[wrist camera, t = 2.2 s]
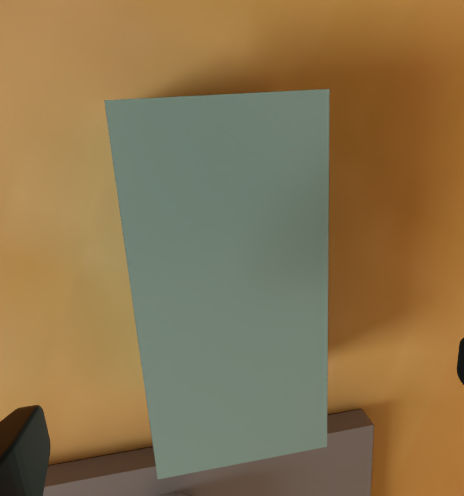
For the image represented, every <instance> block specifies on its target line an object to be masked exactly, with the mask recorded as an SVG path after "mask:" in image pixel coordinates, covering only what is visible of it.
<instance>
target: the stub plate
mask: <svg viewBox="0 0 464 496" xmlns="http://www.w3.org/2000/svg"><path fill="white" fill-rule="evenodd" d="M373 433H374V425H373V423H372V422H371V421H370V419H369V418H368V417H367V415H366V414H365V412H364V411H363V410H362V409H359V410H354V411H348V412H343V413H337V414H332V415H327V447H323V448H318V449H313V450H307V451H302V452H297V453H292V454H287V455H282V456H276V457H271V458H266V459H261V460H256V461H251V462H246V463H240V464H235V465H230V466H225V467H220V468H215V469H209V470H204V471H199V472H194V473H189V474H184V475H178V476H173V477H168V478H163V479H158V478H157V471H156V463H155V456H154V449H153V447H150V448H144V449H139V450H133V451H128V452H122V453H117V454H111V455H106V456H100V457H95V458H89V459H84V460H78V461H73V462H67V463H61V464H56V465H50V466H48V468H47V474H46V480H45V486H44V492H43V496H371V476H372V455H373Z"/></svg>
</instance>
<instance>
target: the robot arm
mask: <svg viewBox="0 0 464 496" xmlns="http://www.w3.org/2000/svg"><path fill="white" fill-rule="evenodd" d="M457 374H458V377H459V379H460V381H461V382H462V383H463V385H464V338H463V339H462V340H461V341H460V344H459V353H458V363H457ZM49 456H50V439H49V434H48V430H47V425H46V421H45V416H44V412H43V409H42V408H41V406H39V405H34V406H28V407H21V408H18V409H16V410H14V411H13V412H12V413H11V414H9V415H8V416H7V417H6V418H4V419H3V420H2V421H1V422H0V496H43V492H44V486H45V480H46V474H47V468H48V462H49Z"/></svg>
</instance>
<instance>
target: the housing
mask: <svg viewBox="0 0 464 496" xmlns="http://www.w3.org/2000/svg"><path fill="white" fill-rule="evenodd" d="M329 94H330V89H319V90H299V91H280V92H260V93H240V94H220V95H201V96H181V97H161V98H142V99H122V100H104V101H105V108H106V115H107V122H108V129H109V136H110V144H111V151H112V158H113V165H114V172H115V179H116V186H117V193H118V200H119V208H120V215H121V222H122V229H123V236H124V243H125V250H126V257H127V264H128V272H129V279H130V286H131V293H132V300H133V307H134V314H135V321H136V328H137V336H138V343H139V350H140V357H141V364H142V371H143V378H144V385H145V392H146V399H147V407H148V414H149V421H150V428H151V435H152V442H153V449H154V456H155V463H156V471H157V478H158V479H163V478H168V477H173V476H178V475H184V474H189V473H194V472H199V471H204V470H209V469H215V468H220V467H225V466H230V465H235V464H240V463H246V462H251V461H256V460H261V459H266V458H271V457H276V456H282V455H287V454H292V453H297V452H302V451H307V450H313V449H318V448H323V447H327V382H328V238H329Z"/></svg>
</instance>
